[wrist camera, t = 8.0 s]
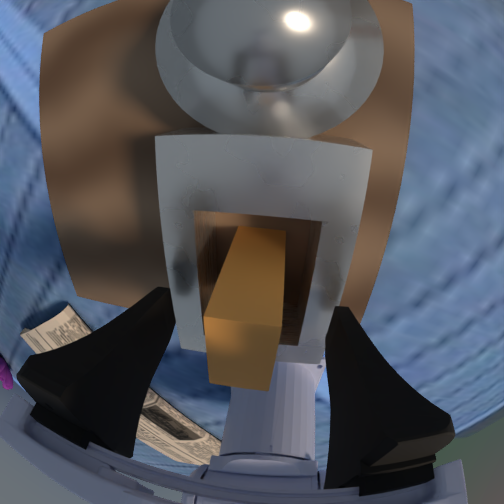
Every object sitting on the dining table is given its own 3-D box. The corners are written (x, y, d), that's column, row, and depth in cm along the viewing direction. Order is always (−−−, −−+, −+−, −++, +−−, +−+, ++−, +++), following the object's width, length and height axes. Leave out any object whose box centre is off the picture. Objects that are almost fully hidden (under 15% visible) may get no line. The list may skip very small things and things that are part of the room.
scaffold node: (321, 322, 17) (327, 401, 12) (192, 309, 18) (162, 380, 13) (362, -9, 7) (403, -63, 2) (187, -15, 8) (132, -64, 3)
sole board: (352, 320, 19) (355, 335, 18) (86, 285, 21) (77, 296, 19) (402, 10, 8) (412, 3, 7) (57, 34, 10) (43, 33, 9)
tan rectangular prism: (277, 291, 16) (268, 391, 10) (236, 286, 17) (209, 382, 11) (286, 230, 14) (282, 326, 8) (238, 225, 15) (203, 316, 9)
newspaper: (248, 453, 37) (246, 466, 35) (167, 450, 43) (163, 460, 41) (73, 298, 23) (58, 315, 20) (23, 327, 29) (13, 339, 27)
